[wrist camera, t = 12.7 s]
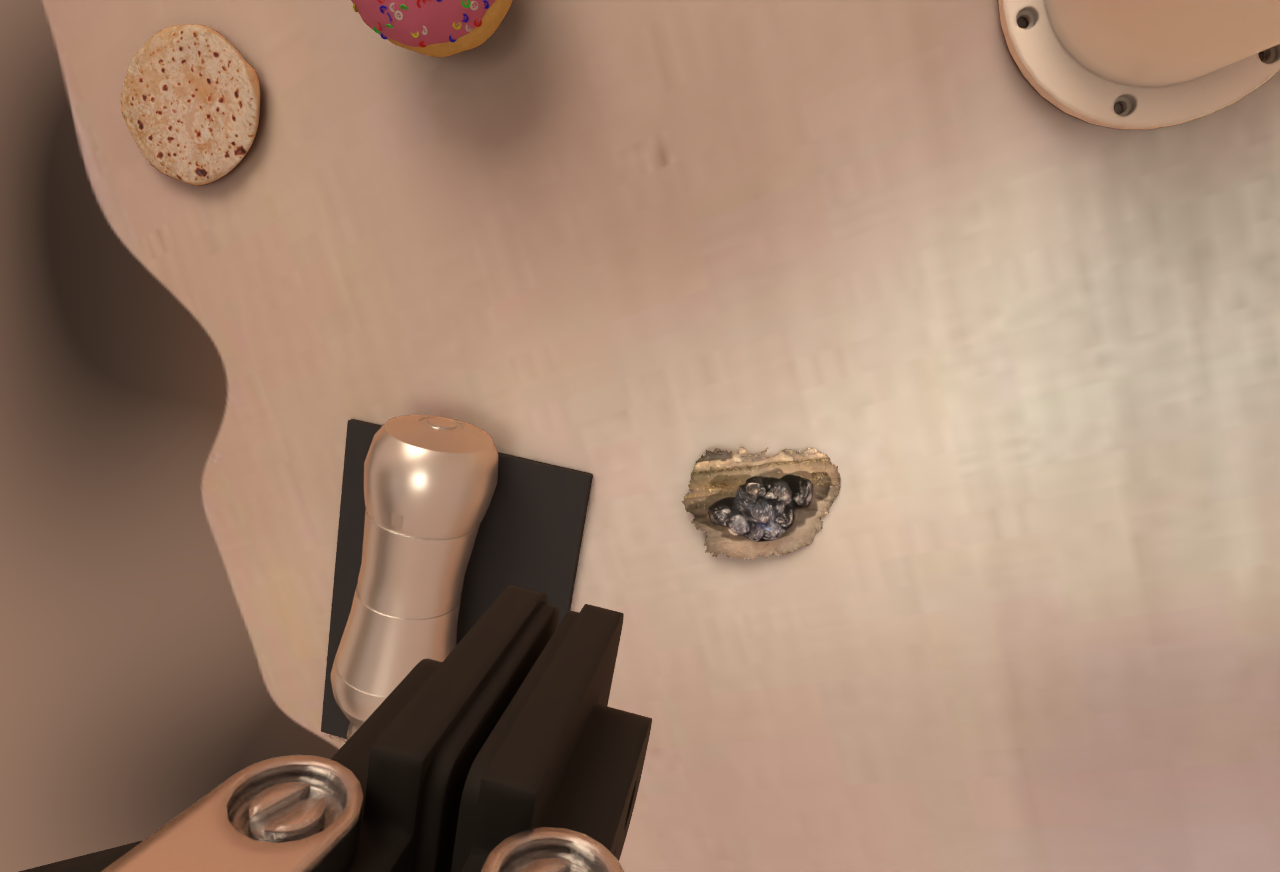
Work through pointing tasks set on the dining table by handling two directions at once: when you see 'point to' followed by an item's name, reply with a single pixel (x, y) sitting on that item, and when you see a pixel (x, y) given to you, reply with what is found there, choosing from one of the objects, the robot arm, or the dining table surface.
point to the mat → (502, 553)
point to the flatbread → (191, 103)
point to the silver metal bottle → (412, 554)
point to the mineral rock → (760, 500)
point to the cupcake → (434, 23)
